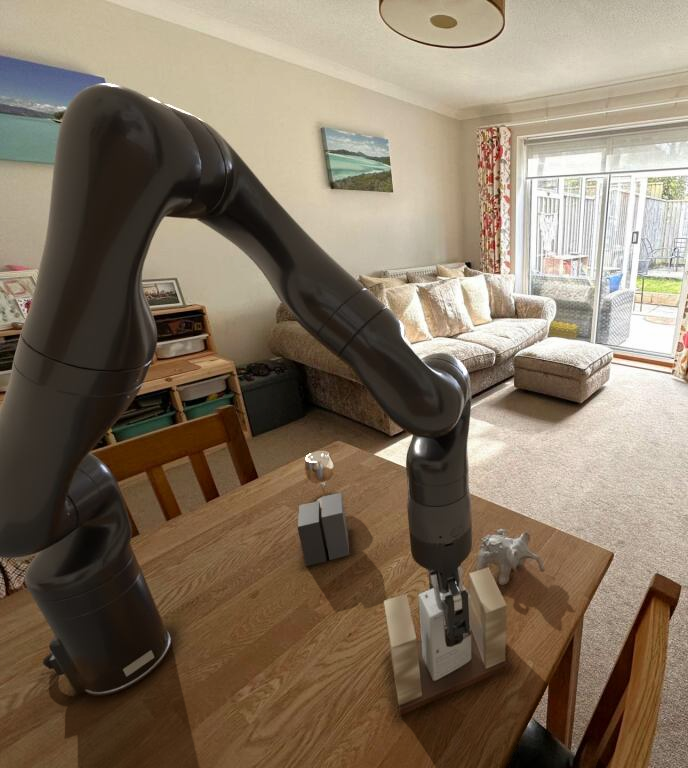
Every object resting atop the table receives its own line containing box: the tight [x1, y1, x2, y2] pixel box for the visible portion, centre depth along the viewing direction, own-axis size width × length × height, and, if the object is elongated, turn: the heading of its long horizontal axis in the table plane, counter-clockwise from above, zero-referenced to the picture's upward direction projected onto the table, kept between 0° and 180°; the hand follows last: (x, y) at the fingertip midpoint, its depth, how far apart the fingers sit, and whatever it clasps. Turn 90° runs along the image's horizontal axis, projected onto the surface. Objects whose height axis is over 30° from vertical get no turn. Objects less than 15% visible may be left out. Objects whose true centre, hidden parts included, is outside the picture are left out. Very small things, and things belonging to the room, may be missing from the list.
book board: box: [383, 567, 508, 716], centre depth 56 cm, size 15×8×12 cm, turn 114°
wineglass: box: [304, 450, 335, 509], centre depth 89 cm, size 6×6×12 cm
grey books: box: [296, 492, 350, 567], centre depth 76 cm, size 8×6×10 cm
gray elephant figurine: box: [476, 528, 545, 586], centre depth 73 cm, size 9×12×8 cm
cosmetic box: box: [418, 585, 471, 681], centre depth 56 cm, size 6×4×12 cm
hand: (445, 614), depth 55 cm, fingers open, 8 cm apart
